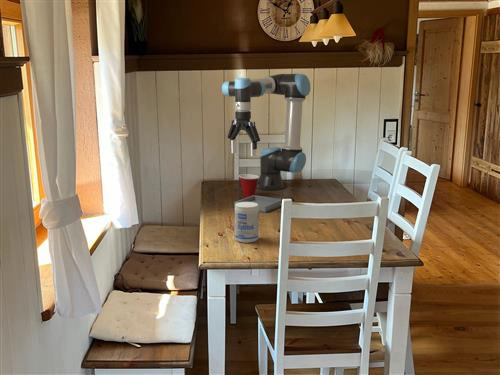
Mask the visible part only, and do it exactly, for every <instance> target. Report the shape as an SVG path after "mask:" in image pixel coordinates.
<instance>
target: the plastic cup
mask: <svg viewBox="0 0 500 375" xmlns="http://www.w3.org/2000/svg"><path fill="white" fill-rule="evenodd" d="M238 176H239V178H240V185H241V190H242V195H243V199H244V198H247V197H250V196H253V195H256V191H257V184H258V181H259V178H260V175H256V174H250V173H242V174H239V175H238Z"/></svg>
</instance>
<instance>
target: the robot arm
mask: <svg viewBox="0 0 500 375" xmlns="http://www.w3.org/2000/svg"><path fill="white" fill-rule="evenodd" d="M221 92H222V94H223V95H224V96H225V97H234V107H235V109H234V110H235V112H234V114H235V115H234V117H235V119H231V125H230V127H229V128H230V129H229V131H228V134H227V139H229V140H230V147H231V154H236V153H238V152H237V146H238V145H237V139H236V138H237V136H238V135H239V133H240V132H241V131H244V132H245V133H246V134H247V135H248V137H249V139H250V141H251V142H250V157H255V156H257V150H258V149H257V148H258V146H257V145H258V142H261V138H260V136H259V133H258V129H257V127H256V122H255V121H251V119H252V111H251V109H252V104H251V103H252V102H251V101H252V100H251V98H259V97H262V96H264V95H265V94H267V95H270V94H271V95H272V94H273V95H279V96H284V97H283V98H284V100H285V101H286V114H285V115H286V116H285V130H284V144H283V146H282V147H267V148H263V149H261V150H260V154H259V156H260V157H259V158H260V168H259V170H260V175H259V179H258V181H257V186H256V188H257V189H259V190H264V191H276V190H281V189H284V180H283V178H282V173H281V172H285V173H291V174H293V173H295V174H296V173H297V174H299V173H300V172H302V171H303V169H304V168H305V165H306V162H307V156H306V153H305V152H304V151H303V148H302V147H301V136H302V135H301V134H302V117H303V103H304V101H305V100H306V97H308V96H309V95H310V92H311V81H310V78H309V77H308V76H307V75H306V74H304V73H278V74H273V75H267V76H264V77H262V78H257V79H256V78H253V79H251V78H249V77H243V78H242V77H236V78H235V79H234V80H232V81H231V80H229V81H223V83H222V85H221Z"/></svg>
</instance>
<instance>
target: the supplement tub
mask: <svg viewBox="0 0 500 375" xmlns="http://www.w3.org/2000/svg"><path fill="white" fill-rule="evenodd" d="M259 213H260V212H259V208H258V204H257V203H254V202H239V203H236V204H235V208H234V239H235V241H237V242H240V243H245V244H246V243H248V244H249V243H253V242H257V241H258V240H259V221H260V220H259V216H260V215H259Z"/></svg>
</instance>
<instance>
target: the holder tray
mask: <svg viewBox="0 0 500 375" xmlns="http://www.w3.org/2000/svg"><path fill="white" fill-rule="evenodd" d="M282 199H283V198H276V197H269V196H262V195H256V194H255V195H253V196H250V197H247V198H244V197H243V198H242V199H239V200H237V201H236V200H235V201H234V203H233V205H234V206H233V208H234V209H235V204H236V203H239V202H254V203H257V204H258V208H259V213H263V214H266V213H269V212H272V211H274V210H275V209H279V208H281V207H282V206H281V203H282ZM280 206H281V207H280ZM273 209H274V210H273Z"/></svg>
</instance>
